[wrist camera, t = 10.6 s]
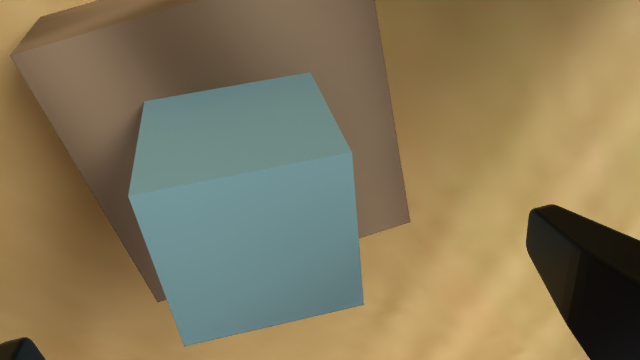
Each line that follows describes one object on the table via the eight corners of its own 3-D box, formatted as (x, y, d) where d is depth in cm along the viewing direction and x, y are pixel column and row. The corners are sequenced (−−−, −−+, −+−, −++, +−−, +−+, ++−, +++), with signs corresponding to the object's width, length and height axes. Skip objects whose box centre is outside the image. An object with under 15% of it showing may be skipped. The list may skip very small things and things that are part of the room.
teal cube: (310, 72, 16) (351, 152, 12) (325, 203, 19) (363, 304, 15) (144, 101, 16) (127, 195, 11) (185, 232, 18) (184, 346, 14)
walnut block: (333, -71, 18) (366, -49, 15) (379, 167, 24) (410, 221, 20) (43, 13, 17) (9, 55, 14) (161, 235, 23) (158, 302, 20)
